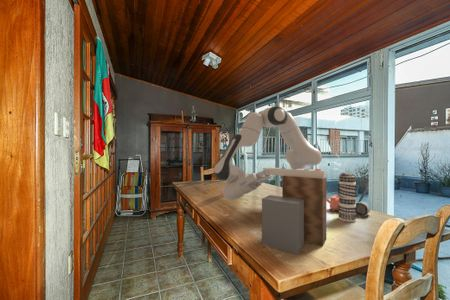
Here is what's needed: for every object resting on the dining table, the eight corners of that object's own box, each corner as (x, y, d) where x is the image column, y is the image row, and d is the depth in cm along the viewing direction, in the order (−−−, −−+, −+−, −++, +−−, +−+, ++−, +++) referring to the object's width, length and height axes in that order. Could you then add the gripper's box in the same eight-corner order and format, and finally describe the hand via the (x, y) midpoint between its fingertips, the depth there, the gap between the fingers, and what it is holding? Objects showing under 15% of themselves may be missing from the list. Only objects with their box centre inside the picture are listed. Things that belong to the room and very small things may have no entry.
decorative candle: (336, 220, 110) (336, 173, 110) (338, 215, 118) (338, 171, 118) (356, 223, 105) (356, 174, 105) (357, 218, 113) (357, 172, 113)
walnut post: (282, 236, 89) (282, 176, 89) (288, 230, 95) (288, 174, 95) (322, 246, 79) (322, 179, 80) (326, 239, 86) (326, 177, 86)
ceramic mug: (371, 214, 119) (370, 201, 119) (368, 218, 113) (367, 204, 114) (350, 211, 127) (350, 198, 127) (346, 214, 121) (346, 201, 121)
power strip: (263, 174, 96) (263, 166, 96) (266, 173, 100) (266, 166, 100) (323, 178, 81) (323, 169, 81) (325, 177, 84) (325, 169, 84)
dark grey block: (261, 244, 81) (261, 198, 81) (270, 237, 88) (270, 195, 88) (297, 254, 73) (297, 203, 73) (303, 246, 80) (303, 199, 80)
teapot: (323, 208, 133) (323, 193, 133) (341, 207, 134) (341, 193, 134) (333, 213, 122) (333, 197, 122) (353, 213, 122) (353, 196, 122)
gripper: (234, 179, 96) (258, 165, 89) (255, 175, 112) (276, 163, 105) (240, 191, 94) (265, 178, 87) (260, 185, 110) (282, 174, 103)
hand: (271, 170), depth 96 cm, fingers open, 8 cm apart
